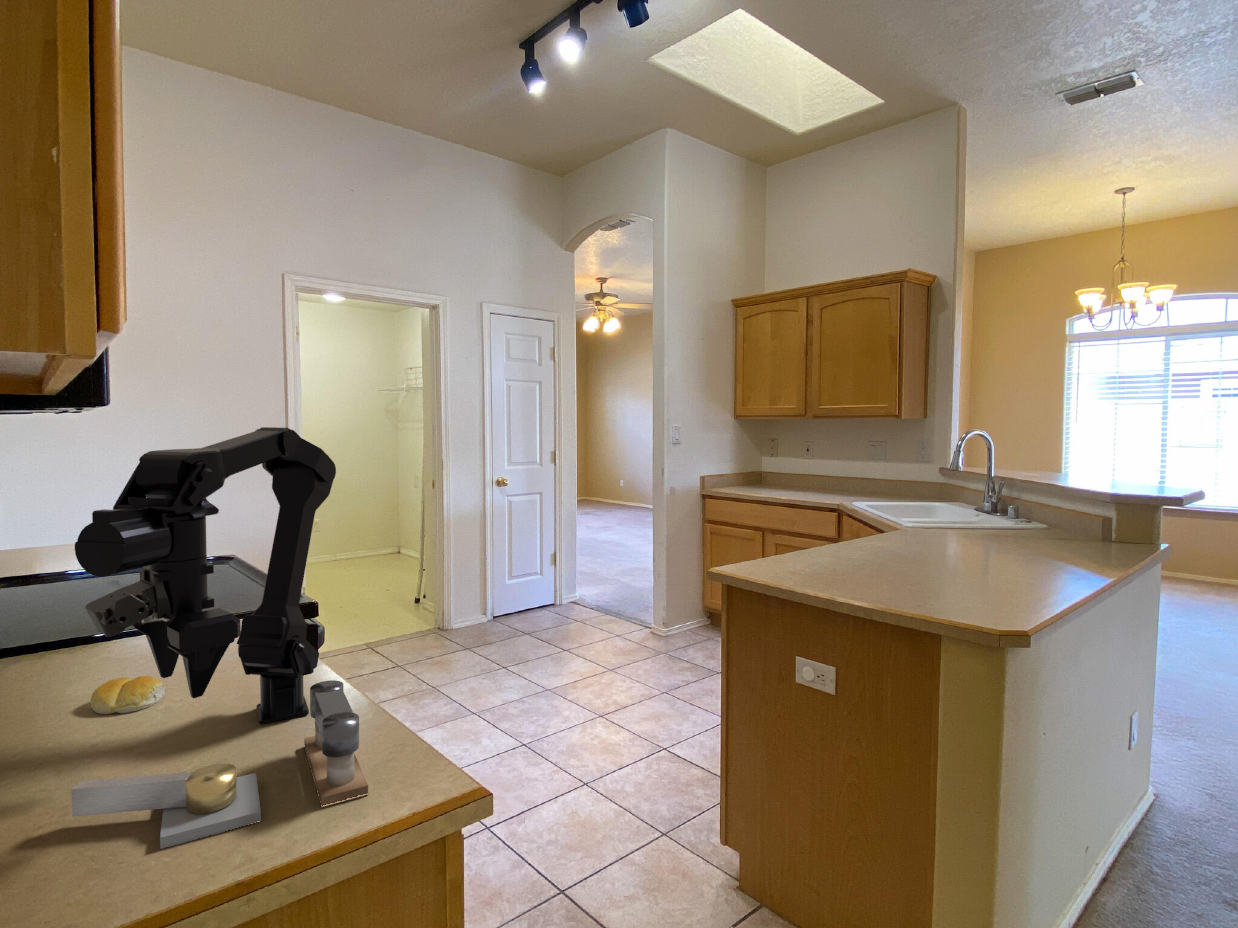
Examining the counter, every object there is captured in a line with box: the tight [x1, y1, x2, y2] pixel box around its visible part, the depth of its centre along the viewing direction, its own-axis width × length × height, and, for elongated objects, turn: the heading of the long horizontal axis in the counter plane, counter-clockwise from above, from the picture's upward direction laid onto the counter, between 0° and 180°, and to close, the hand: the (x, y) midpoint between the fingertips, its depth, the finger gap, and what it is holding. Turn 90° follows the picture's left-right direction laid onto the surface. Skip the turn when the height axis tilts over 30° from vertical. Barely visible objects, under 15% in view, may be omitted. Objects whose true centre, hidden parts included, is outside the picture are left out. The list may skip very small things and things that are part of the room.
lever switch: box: [70, 762, 238, 818], centre depth 72 cm, size 15×5×3 cm, turn 102°
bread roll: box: [90, 675, 166, 715], centre depth 100 cm, size 8×9×4 cm
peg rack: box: [303, 719, 369, 806], centre depth 82 cm, size 16×5×5 cm, turn 32°
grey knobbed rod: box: [309, 679, 360, 757], centre depth 82 cm, size 15×4×4 cm, turn 32°
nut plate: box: [159, 772, 262, 850], centre depth 73 cm, size 9×9×1 cm
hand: (181, 686), depth 78 cm, fingers open, 9 cm apart
